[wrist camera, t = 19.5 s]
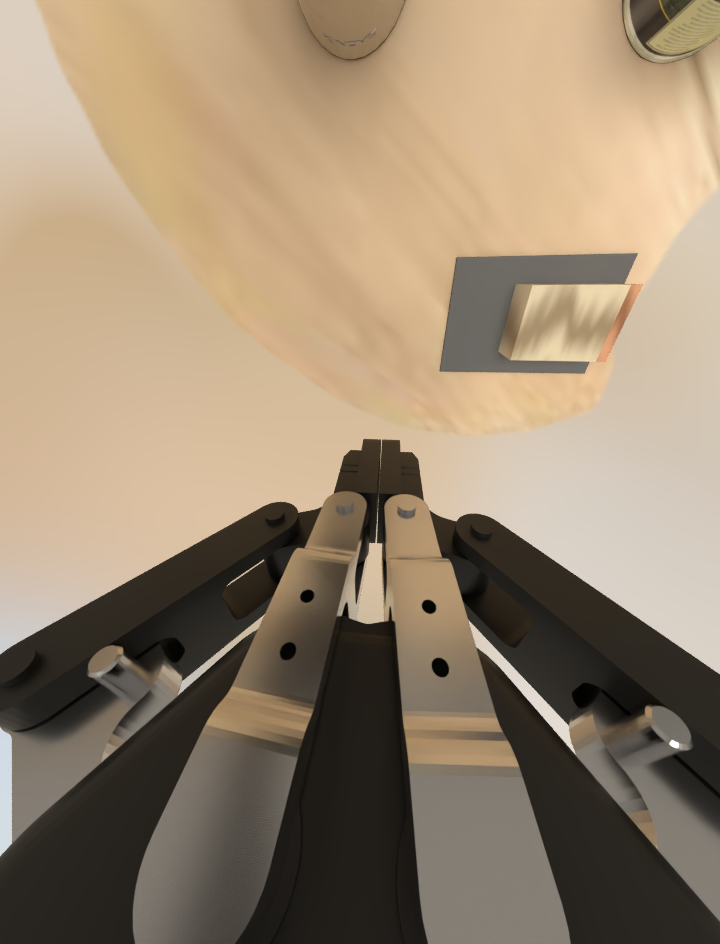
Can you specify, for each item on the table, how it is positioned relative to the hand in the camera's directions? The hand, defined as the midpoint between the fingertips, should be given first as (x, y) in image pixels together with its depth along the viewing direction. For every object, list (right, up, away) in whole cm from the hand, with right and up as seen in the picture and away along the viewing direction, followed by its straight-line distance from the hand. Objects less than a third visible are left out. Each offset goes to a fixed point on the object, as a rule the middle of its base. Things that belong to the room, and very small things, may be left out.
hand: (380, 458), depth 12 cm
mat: (+19, +18, +21) cm, 33 cm away
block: (+16, +16, +19) cm, 30 cm away
